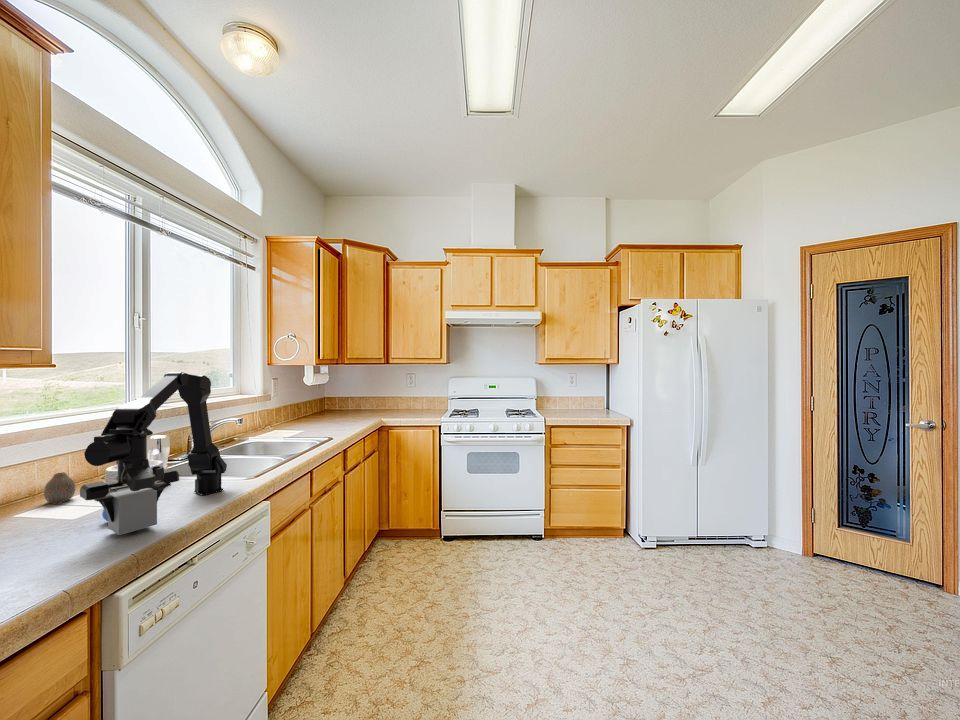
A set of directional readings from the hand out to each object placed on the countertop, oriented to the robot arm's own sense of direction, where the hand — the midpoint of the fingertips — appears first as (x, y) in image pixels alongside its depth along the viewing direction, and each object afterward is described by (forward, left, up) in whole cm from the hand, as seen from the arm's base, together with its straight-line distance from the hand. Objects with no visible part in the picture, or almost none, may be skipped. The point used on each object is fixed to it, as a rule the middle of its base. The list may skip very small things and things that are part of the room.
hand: (132, 516), depth 105 cm
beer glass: (-24, -55, -4) cm, 60 cm away
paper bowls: (-14, -45, -4) cm, 47 cm away
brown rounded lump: (+4, -47, -4) cm, 47 cm away
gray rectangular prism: (0, 0, -3) cm, 3 cm away
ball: (0, -13, -1) cm, 13 cm away
